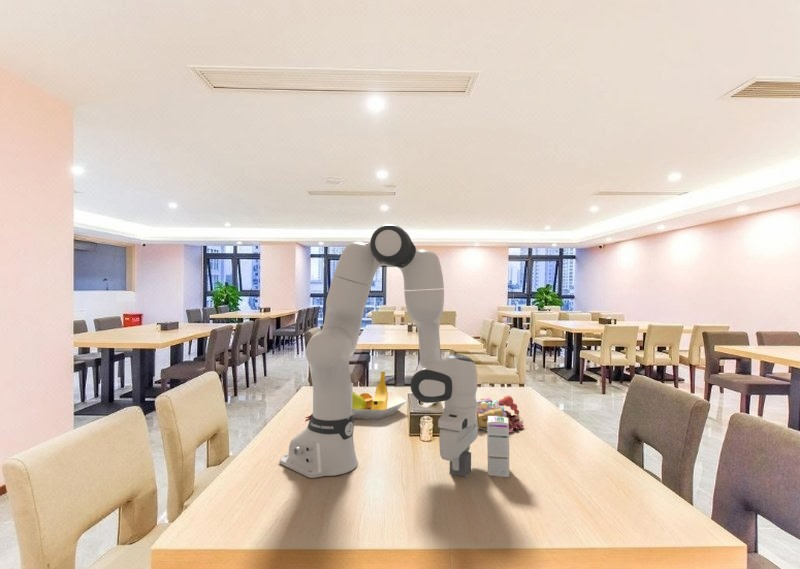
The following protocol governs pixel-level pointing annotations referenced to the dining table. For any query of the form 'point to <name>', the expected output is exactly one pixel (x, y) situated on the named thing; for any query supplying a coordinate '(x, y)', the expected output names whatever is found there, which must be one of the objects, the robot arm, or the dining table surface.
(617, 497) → the dining table surface
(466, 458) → the block
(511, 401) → the food platter
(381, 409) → the fruit
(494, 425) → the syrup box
